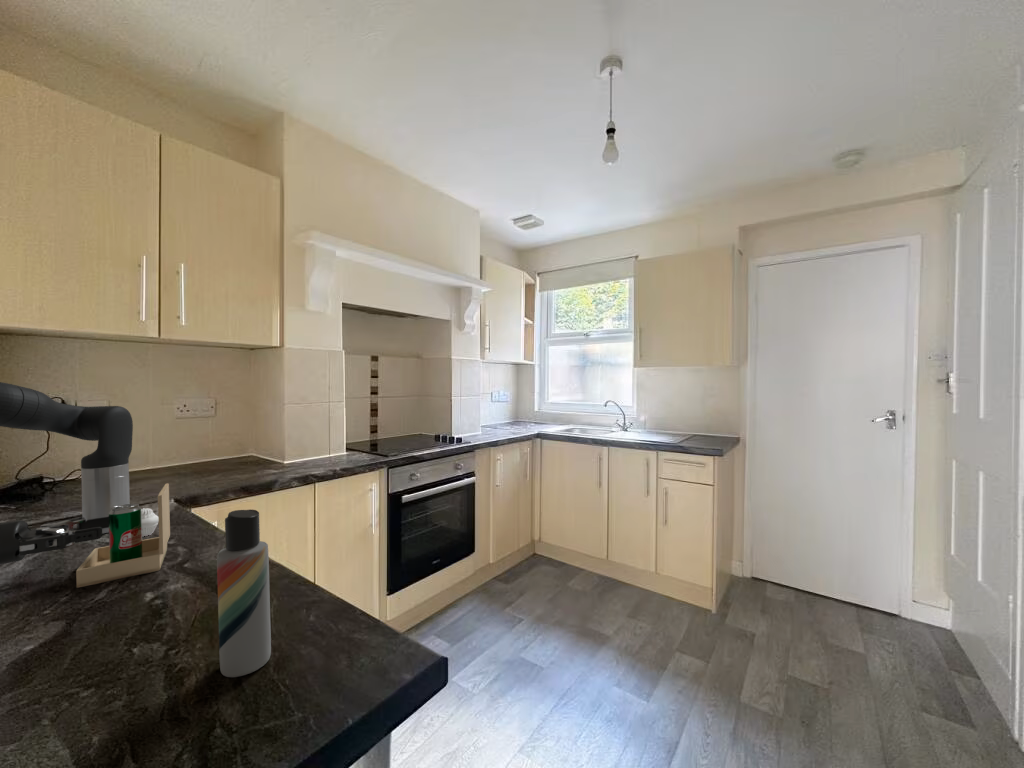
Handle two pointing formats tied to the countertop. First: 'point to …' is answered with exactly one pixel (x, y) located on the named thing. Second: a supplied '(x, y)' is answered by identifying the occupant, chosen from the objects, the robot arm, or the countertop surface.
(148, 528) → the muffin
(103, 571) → the mailer box
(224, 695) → the countertop surface
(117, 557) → the soda can
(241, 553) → the lotion bottle
